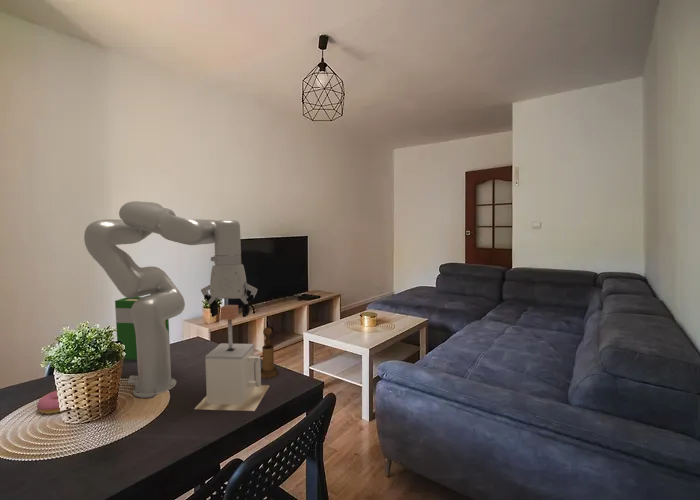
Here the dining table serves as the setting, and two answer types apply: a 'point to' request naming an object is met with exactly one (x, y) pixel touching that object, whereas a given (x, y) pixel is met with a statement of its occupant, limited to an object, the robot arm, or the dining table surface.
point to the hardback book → (128, 326)
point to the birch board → (247, 406)
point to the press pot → (231, 374)
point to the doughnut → (49, 403)
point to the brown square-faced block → (229, 320)
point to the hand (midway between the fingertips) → (230, 315)
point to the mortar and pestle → (268, 356)
